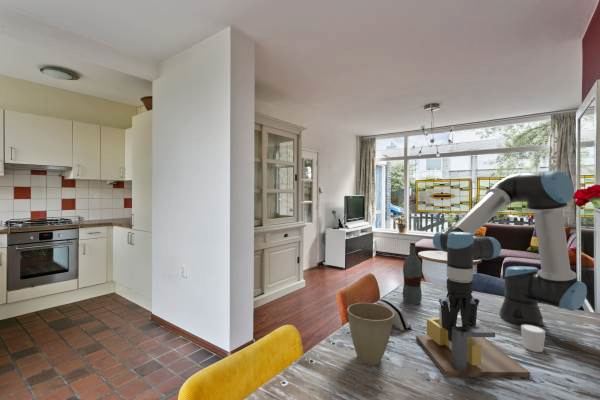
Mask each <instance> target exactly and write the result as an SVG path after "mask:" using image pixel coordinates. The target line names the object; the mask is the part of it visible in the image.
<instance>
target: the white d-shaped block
mask: <svg viewBox="0 0 600 400" xmlns="http://www.w3.org/2000/svg"><path fill="white" fill-rule="evenodd" d="M375 304H378V305H382V306H385V307H387V308H389V309H391V310H392V311H393V313H394V318H393V324H392V326H394V325H395V327H396V328H397V329H399V330H400V332H401V331H405V328H406V329H408V328H409V329H411V330H412V329H413V327H412V325H411V324H410V323H409V322H408V320H407V318H406V315H405V312H404V310H403V309H402V308H400V307H399V306H398V305H397V304H396V303H395V302H393V301H391V300H390V299H386V298H381V299H380V300H377V302H375Z"/></svg>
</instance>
